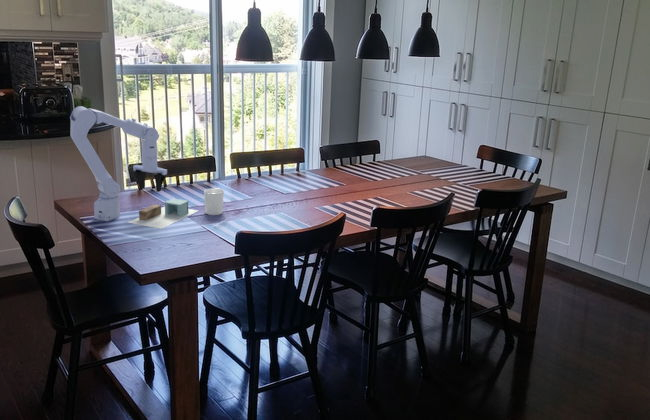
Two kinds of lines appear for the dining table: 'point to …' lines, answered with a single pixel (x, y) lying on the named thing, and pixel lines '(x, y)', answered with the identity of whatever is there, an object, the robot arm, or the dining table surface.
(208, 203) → the white cup
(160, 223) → the board
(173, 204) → the teal block
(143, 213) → the slat
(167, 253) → the dining table surface
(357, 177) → the dining table surface
